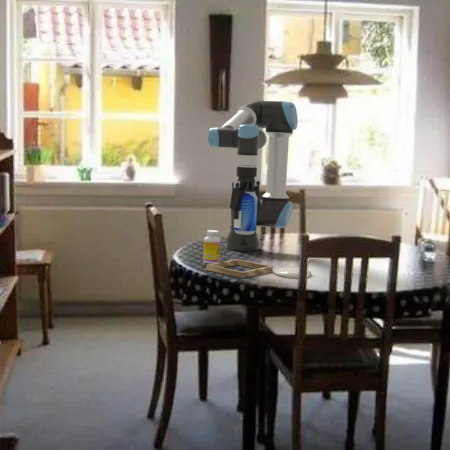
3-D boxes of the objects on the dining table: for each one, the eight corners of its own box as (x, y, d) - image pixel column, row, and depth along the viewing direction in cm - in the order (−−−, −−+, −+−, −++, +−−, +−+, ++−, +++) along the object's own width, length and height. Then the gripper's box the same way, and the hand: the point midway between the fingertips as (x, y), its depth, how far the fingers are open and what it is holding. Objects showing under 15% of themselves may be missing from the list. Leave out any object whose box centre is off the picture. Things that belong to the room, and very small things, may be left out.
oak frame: (236, 264, 315) (236, 259, 314) (272, 271, 303) (272, 266, 303) (206, 269, 301) (206, 264, 301) (242, 277, 290) (242, 272, 289)
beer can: (230, 233, 298) (232, 191, 295) (238, 230, 306) (239, 189, 303) (251, 235, 295) (253, 193, 292) (258, 232, 303) (260, 191, 300)
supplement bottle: (217, 265, 311) (219, 232, 310) (201, 263, 313) (202, 231, 311) (221, 261, 318) (222, 230, 316) (205, 260, 319) (206, 229, 317)
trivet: (288, 268, 309) (288, 266, 309) (318, 274, 300) (318, 272, 300) (266, 273, 299) (266, 271, 299) (296, 280, 290) (297, 277, 290)
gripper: (256, 164, 306) (253, 223, 309) (221, 166, 291) (218, 227, 294) (271, 166, 301) (268, 225, 305) (236, 168, 286) (234, 230, 289)
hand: (244, 226), depth 299 cm, fingers closed on beer can, 7 cm apart
